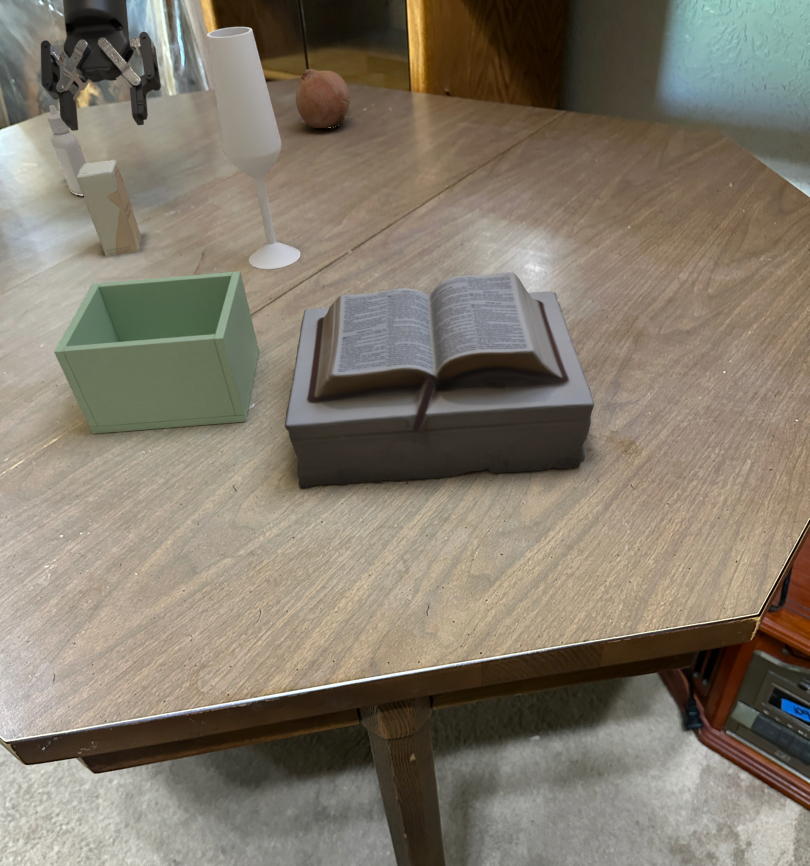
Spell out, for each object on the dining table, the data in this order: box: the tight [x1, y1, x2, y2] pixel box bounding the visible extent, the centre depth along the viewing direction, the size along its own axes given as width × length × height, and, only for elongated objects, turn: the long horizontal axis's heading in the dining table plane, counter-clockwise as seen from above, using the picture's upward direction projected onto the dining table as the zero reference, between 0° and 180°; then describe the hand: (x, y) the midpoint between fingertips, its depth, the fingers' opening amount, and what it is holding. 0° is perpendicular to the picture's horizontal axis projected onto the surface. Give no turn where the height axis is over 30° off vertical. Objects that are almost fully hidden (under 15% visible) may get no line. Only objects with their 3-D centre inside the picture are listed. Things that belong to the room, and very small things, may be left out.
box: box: [77, 159, 142, 257], centre depth 91 cm, size 5×4×11 cm
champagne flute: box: [206, 26, 301, 270], centre depth 83 cm, size 7×7×24 cm
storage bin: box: [53, 270, 260, 435], centre depth 69 cm, size 15×13×9 cm
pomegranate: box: [295, 68, 351, 129], centre depth 125 cm, size 10×9×10 cm
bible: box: [284, 271, 595, 489], centre depth 63 cm, size 23×27×10 cm
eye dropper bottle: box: [46, 104, 87, 194], centre depth 109 cm, size 4×6×12 cm
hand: (105, 124), depth 91 cm, fingers open, 8 cm apart
